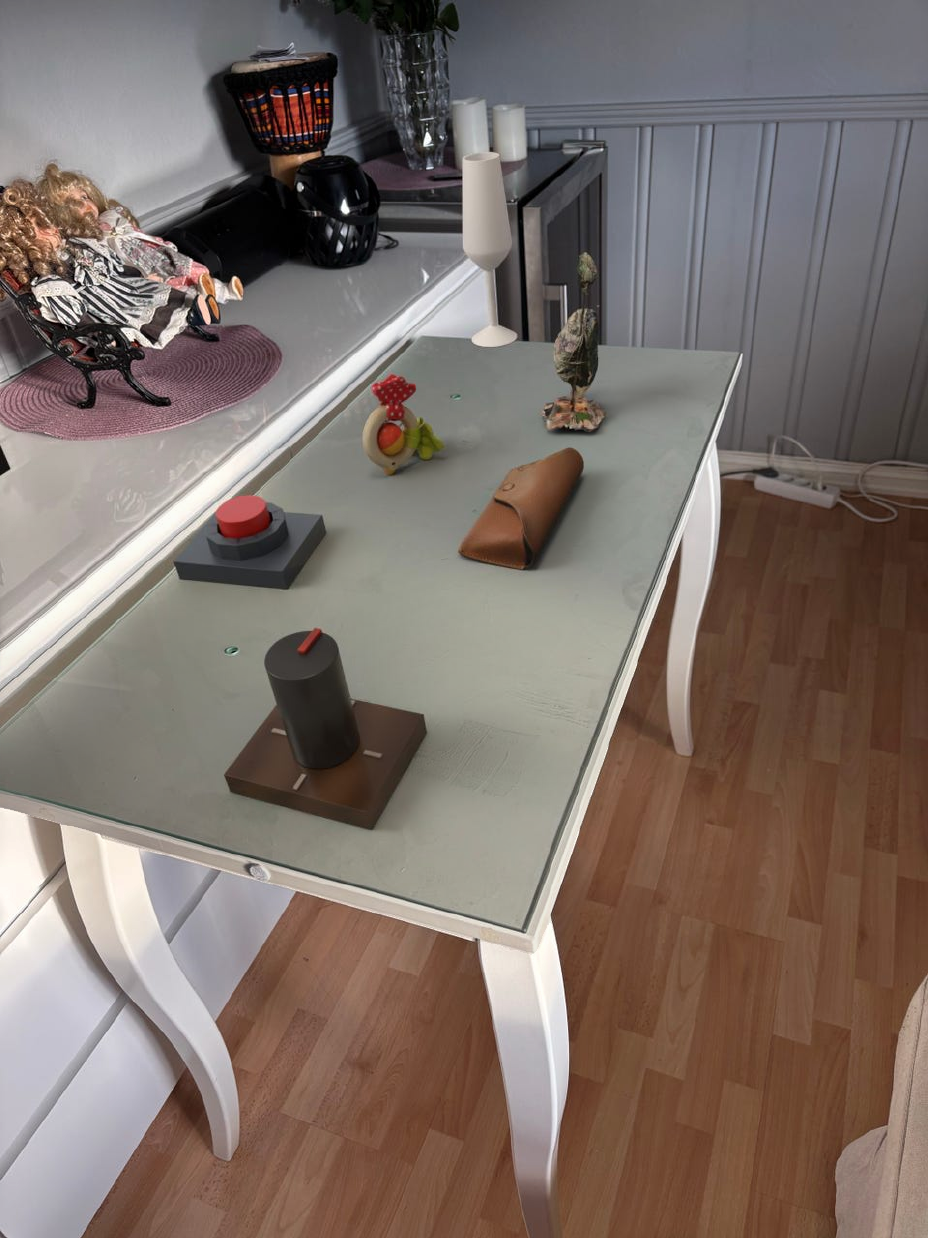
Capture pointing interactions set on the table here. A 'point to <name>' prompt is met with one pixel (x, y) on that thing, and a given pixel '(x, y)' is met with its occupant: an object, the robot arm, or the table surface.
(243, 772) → the knob panel
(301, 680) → the dial
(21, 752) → the table surface
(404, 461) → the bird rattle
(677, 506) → the table surface
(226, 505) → the button
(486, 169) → the champagne flute
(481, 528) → the sunglasses case
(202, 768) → the table surface
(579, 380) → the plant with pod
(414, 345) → the table surface
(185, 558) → the button box
